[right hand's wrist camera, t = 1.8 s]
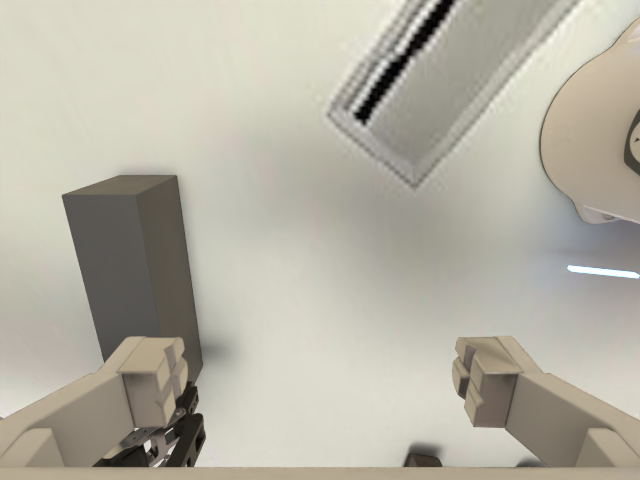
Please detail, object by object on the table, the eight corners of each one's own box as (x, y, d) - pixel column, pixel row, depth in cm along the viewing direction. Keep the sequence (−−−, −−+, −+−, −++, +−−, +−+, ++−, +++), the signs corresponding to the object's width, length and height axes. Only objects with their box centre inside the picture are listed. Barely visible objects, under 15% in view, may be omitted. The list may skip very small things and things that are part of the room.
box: (118, 175, 36) (60, 194, 28) (176, 175, 36) (135, 194, 28) (155, 365, 44) (119, 423, 36) (203, 365, 44) (177, 423, 36)
